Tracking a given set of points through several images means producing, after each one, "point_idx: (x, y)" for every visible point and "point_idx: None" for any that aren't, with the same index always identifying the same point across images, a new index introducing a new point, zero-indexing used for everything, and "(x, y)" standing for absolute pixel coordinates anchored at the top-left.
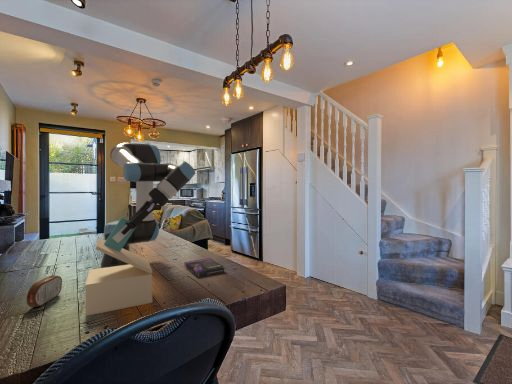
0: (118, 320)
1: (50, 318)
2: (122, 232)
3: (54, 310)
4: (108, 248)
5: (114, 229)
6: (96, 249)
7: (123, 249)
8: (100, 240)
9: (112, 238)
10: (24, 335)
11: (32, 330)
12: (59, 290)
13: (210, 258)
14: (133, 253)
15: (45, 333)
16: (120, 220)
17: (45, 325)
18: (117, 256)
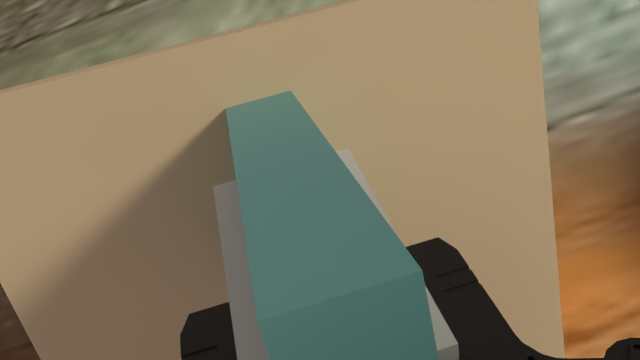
0: (26, 348)
1: (148, 28)
2: (188, 337)
3: (235, 7)
4: (140, 192)
5: (238, 185)
6: None
7: (505, 252)
8: (370, 21)
9: (216, 191)
10: (13, 2)
11: (49, 10)
12: None
13: None
14: (550, 336)
15: (3, 72)
16: (253, 278)
17: (81, 39)
18: (25, 324)
